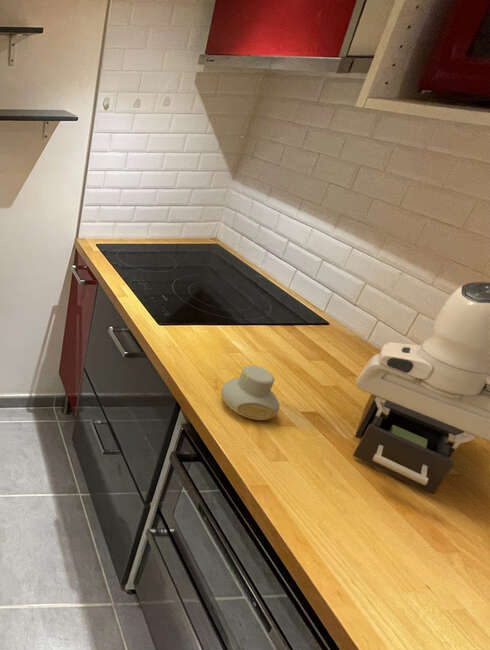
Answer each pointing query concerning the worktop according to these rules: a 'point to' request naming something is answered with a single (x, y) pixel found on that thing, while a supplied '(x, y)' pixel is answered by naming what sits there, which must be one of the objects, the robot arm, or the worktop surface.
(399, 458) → the open nightstand drawer
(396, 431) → the block
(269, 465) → the worktop surface
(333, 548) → the worktop surface
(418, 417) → the small drawer unit
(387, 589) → the worktop surface
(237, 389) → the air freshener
